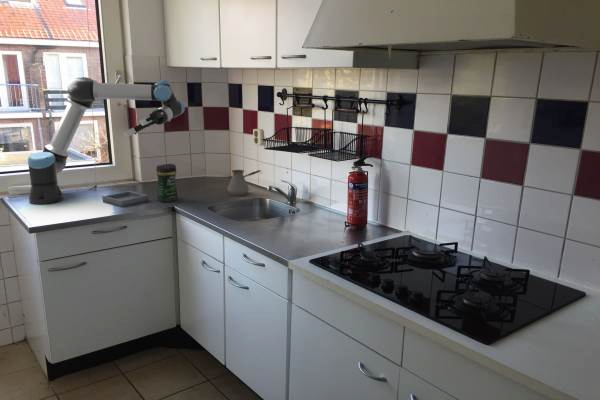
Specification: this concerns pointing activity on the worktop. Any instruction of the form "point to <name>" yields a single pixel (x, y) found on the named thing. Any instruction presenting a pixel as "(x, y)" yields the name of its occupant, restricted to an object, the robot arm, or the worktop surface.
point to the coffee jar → (166, 182)
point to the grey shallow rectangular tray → (125, 198)
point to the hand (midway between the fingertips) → (132, 129)
